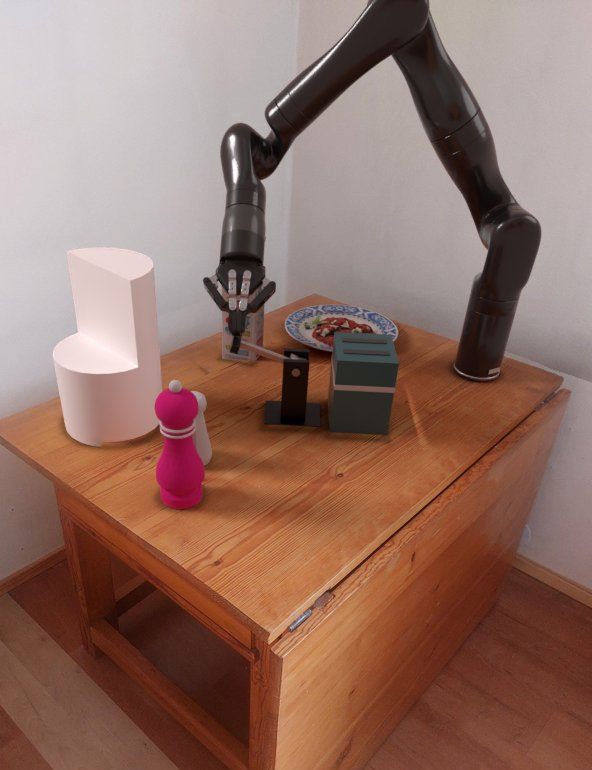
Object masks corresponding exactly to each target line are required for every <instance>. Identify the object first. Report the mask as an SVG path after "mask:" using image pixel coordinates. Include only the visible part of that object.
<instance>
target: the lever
mask: <svg viewBox="0 0 592 770" xmlns="http://www.w3.org/2000/svg"><path fill="white" fill-rule="evenodd" d="M241 338H242V333H241V336H233V338H232V343H231V348H230V352H232V353H235V354H238V351H239V349H240V348H243V349H245V350H248V351H251V352H253V353H256V354H259V355H260V356H261V357H264V358H266V359H269V360H272V361H274V362H277V363H280V364H282V365H283V361H284V359H297V360H306V359H305V358H302V357H300V356H297V355H295V354H292V353H291V355H290V357H289V358H288V357H286V356H284V354H280V353H278V352H275V351H273V350H270V349H268V348H264V347H263V348H262V347H260V346H257V345H254V344H252V343H249V342H246V341H244V340H241Z"/></svg>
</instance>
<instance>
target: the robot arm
mask: <svg viewBox="0 0 592 770" xmlns="http://www.w3.org/2000/svg"><path fill="white" fill-rule="evenodd" d="M389 57H391V58H392V59H393V61H394V62H395V64H396V65H397V67H398V69H399V70H400V72H401V74H402V76H403V78H404V80H405V82H406V85H407V88H408V90H409V93H410V96H411V99H412V102H413V105H414V108H415V111H416V113H417V115H418V118H419V121H420V123H421V126H422V129H423V130H424V133H425V135H426V137H427V139H428V141H429V143H430V145H431V147H432V148H433V151H434V152H435V154H436V157H437V158H438V159H439V161H440V164H441V165H442V166H443V168H444V170H445V172H446V173H447V174H448V176H449V178H450V179H451V181H452V182H453V184H454V185H455V186H456V188H457V189H458V191H459V192H460V194H461V195H462V197H463V199H464V201H465V203H466V205H467V209H468V211H469V213H470V216H471V218H472V220H473V223H474V226H475V229H476V232H477V234H478V237H479V239H480V242H481V243H482V245H483V247H484V248H485V249H486V250H487V251H486V255H485V256H486V257H485V261H484V265H483V268H482V270H481V272H478V273H477V274H475V276H474V277H473V279H472V284H471V289H470V294H469V298H468V302H467V307H466V311H465V316H464V320H463V324H462V329H461V332H460V333H461V334H460V337H459V343H458V347H457V351H456V355H455V359H454V362H453V365H452V368H453V371H454V373H456V374H457V375H458V376H460V377H462V378H465V379H467V380H470V381H476V382H491V381H495V380H497V379H498V378H499V376H500V374H501V373H500V372H501V368H502V363H503V360H504V357H505V354H506V349H507V346H508V342H509V338H510V334H511V331H512V327H513V324H514V320H515V317H516V312H517V309H518V305H519V302H520V297H521V294H522V291H523V290H524V288H525V287H526V286H527V284H528V282H529V280H530V277H531V274H532V272H533V269H534V265H535V262H536V259H537V256H538V252H539V249H540V245H541V241H542V226H541V223H540V221H539V220H538V219H537V217H536V216H534V215H533V214H532V213H531V212H529V211H528V210H526V209H525V208H524V207H522V206H521V205H520V203H519V202H518V201H517V199H516V198H515V196H514V195H513V193H512V192H511V190H510V188H509V186H508V185H507V183H506V181H505V179H504V177H503V175H502V173H501V170H500V166H499V162H498V156H497V150H496V149H497V148H496V145H495V144H496V143H495V140H494V136H493V133H492V129H491V128H490V125H489V123H488V120H487V119H486V116H485V114H484V111H483V110H482V107H481V106H480V103H479V102H478V100H477V97H476V96H475V94H474V93H473V91H472V89H471V87H470V86H469V84H468V82H467V81H466V79H465V78H464V76H463V74H462V73H461V71H460V70H459V69H458V67H457V66H456V64H455V62H454V61H453V60H452V58H451V57H450V55H449V53H448V52H447V50H446V48H445V46H444V44H443V41H442V39H441V37H440V35H439V31H438V29H437V26H436V23H435V21H434V18H433V15H432V13H431V10H430V0H367V3H366V6H365V8H364V9H363V11H362V12H361V13H360V14H359V16H358V18H357V19H356V20H355V21H354V23H352V25H351V26H350V27H349V29H348V30H347V31H346V32H345V33H344V34H343V35H342V37H340V38H339V40H338V41H337V42H336V43H335V44H334V45H332V47H331V48H330V49H328V50H327V51H325V52H324V53H323V54H322V55H321V56H320V57H318V58H317V59H316V60H315V61H313V62H312V63H311V64H310V65H308V66H307V67H306V68H305V69H303V70H302V71H301V72H300V73H299V74H297V76H295V77H294V78H293V79H292V80H291V81H290V82H289V83H288V84H287V85H286V86H285V87H284V88H283V89H281V90H280V92H279V93H278V94H277V95H276V96H275V97H274V98H273V99H272V100H271V101H269V103H268V104H267V105H266V106H265V109H264V120H265V122H266V123H267V125H268V127H269V129H270V130H269V133H268V135H267V136H266V137H264V136H263V135H261V133H260V132H258V131H257V130H256V129H255V128H253V127H252V126H251V125H249V124H248V123H245V122H236V123H234V124H232V125H231V126H229V128H227V130H226V131H225V133H224V134H223V137H222V139H221V142H220V150H219V154H220V155H219V156H220V165H221V170H222V175H223V182H224V186H225V190H226V194H225V205H224V216H223V220H222V226H221V238H220V249H219V262H218V266H217V267H216V269H215V274H213V275H211V276H210V277H208V276H205V277H204V278H203V279H202V283H203V287H204V289H205V291H206V292H207V293H208V295H209V296H210V298H211V299H212V300H213V302H214V303H215V305H216V307H218V309H219V310H220V311H221V312H222V311H225V312H227V313H228V314H229V318H228V330H229V332H232V336H241V333H244V332H245V325H246V316H247V314H249V313H256V312H257V311H258V310H259V309H260V308H261V307H262V306H263V305H264V306H265V304H266V303H267V302H268V301H269V300H270V299H271V298H272V296H273V295H274V294H276V292H277V283H276V282H275V281H274V280H270V279H269V278H267V277H266V270H265V271H264V269H263V266H264V262H265V261H264V260H265V259H264V258H265V243H266V231H267V230H266V206H267V190H266V187H265V185H264V183H263V182H262V181H263V180H266V179H269V177H271V176H272V175H273V174H274V173H275V172H276V170H277V169H278V168H279V166H280V164H281V162H282V161H283V159H284V157H285V156H286V154H287V153H288V151H289V150H290V148H291V147H292V146H293V143H294V142H295V141H296V139H297V138H298V137H299V136H300V135H301V134H302V133H303V132H305V130H306V129H308V127H310V126H311V125H312V124H313V123H314V122H315V121H316V120H317V119H318V118H319V117H320V116H321V115H323V113H324V112H325V111H327V110H328V109H329V108H330V106H331V105H333V103H335V102H336V101H337V100H338V99H339V98H340V97H341V96H342V95H343V94H344V93H345V92H346V91H347V90H348V89H349V88H350V87H352V86H353V85H354V84H355V83H356V82H358V80H360V79H361V78H362V77H364V76H365V75H366V74H368V73H369V72H370V71H371V70H372V69H373V68H375V67H376V66H378V65H379V64H380V63H382V62H383V61H385V60H386V59H388V58H389ZM218 283H219V284H220V285H221V288H222V287H223V288H224V290H225V291H226V293H228V294H229V302H226V301H225V300H224V298H223V297H222V293H221V292H220V291H219V290H218V288H219V284H218ZM261 284H263V285H262V287H261V288H262V291H261V292H260V293H259V294H258V295H257V296H256V297H255V298H254V299H253V300H252V302H251V303H249V297H250V295H252V294H253V293H254V292H255V291H256V290H257V289H258V288H259V286H260V285H261ZM238 295H240V296H241V298H240V305H239V311H238V312H237V296H238Z"/></svg>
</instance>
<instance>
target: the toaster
mask: <svg viewBox="0 0 592 770" xmlns="http://www.w3.org/2000/svg"><path fill="white" fill-rule="evenodd" d="M394 343H395V342H393V339H392V336H391V335H388V334H368V333H348V332H334V342H333V352H331V353H332V354H331V358H330V359H331V360H330V361H331V364H330V372H329V373H330V374H329V381H328V392H327V412H328V427H329V433H337V434H338V433H339V434H358V435H359V434H360V435H379V436H388V432H389V426H390V420H391V414H392V408H393V402H394V396H395V393H396V384H397V378H398V373H399V367H400V362H399V358H398V354H397V350H396V347H395V344H394Z"/></svg>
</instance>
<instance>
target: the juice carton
mask: <svg viewBox="0 0 592 770" xmlns="http://www.w3.org/2000/svg"><path fill="white" fill-rule="evenodd" d="M263 269H264V271H265V272H266V266H265V265H263ZM262 285H263V284H261V285H260V286H259V288H258V289H257V290H256V291H255V292H254V293H253V294H252V295H250V297H249V303H251V302H252V300H253V299H254V298H255V297H256V296H257V295H258V294H259V293H260V292H261V291H262V288H261V287H262ZM221 295H222V297H223V298H224V300H225V301H226V302H229V294H228V293H226V291H225V290H224V288H223V287H222V286H221ZM240 298H241V296H240V295H238V296H237V312H238V311H239V305H240ZM228 318H229V314H228V313H227V312H225V311H221V359H222V360H233V361H234V360H235V361H252V362H255V361H257V360H258V358H259V357H260V356H261V355H259V354H256V353H253V352H251V351H248V350H245V349H243V348H240V349H239V351H238V354H235V353H232V352H230V348H231V343H232V338H233V336H232V332H229V330H228ZM264 324H265V304H264V305H263V306H262V307H261V308H260V309H259V310H258V311H257V312H256V313H249V314H247V316H246V325H245V332H244V333H242V338H241V340H244V341H246V342H249V343H252V344H254V345H257V346H260V347H262V348H264V331H265V329H264V328H265V327H264V326H265V325H264Z"/></svg>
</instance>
